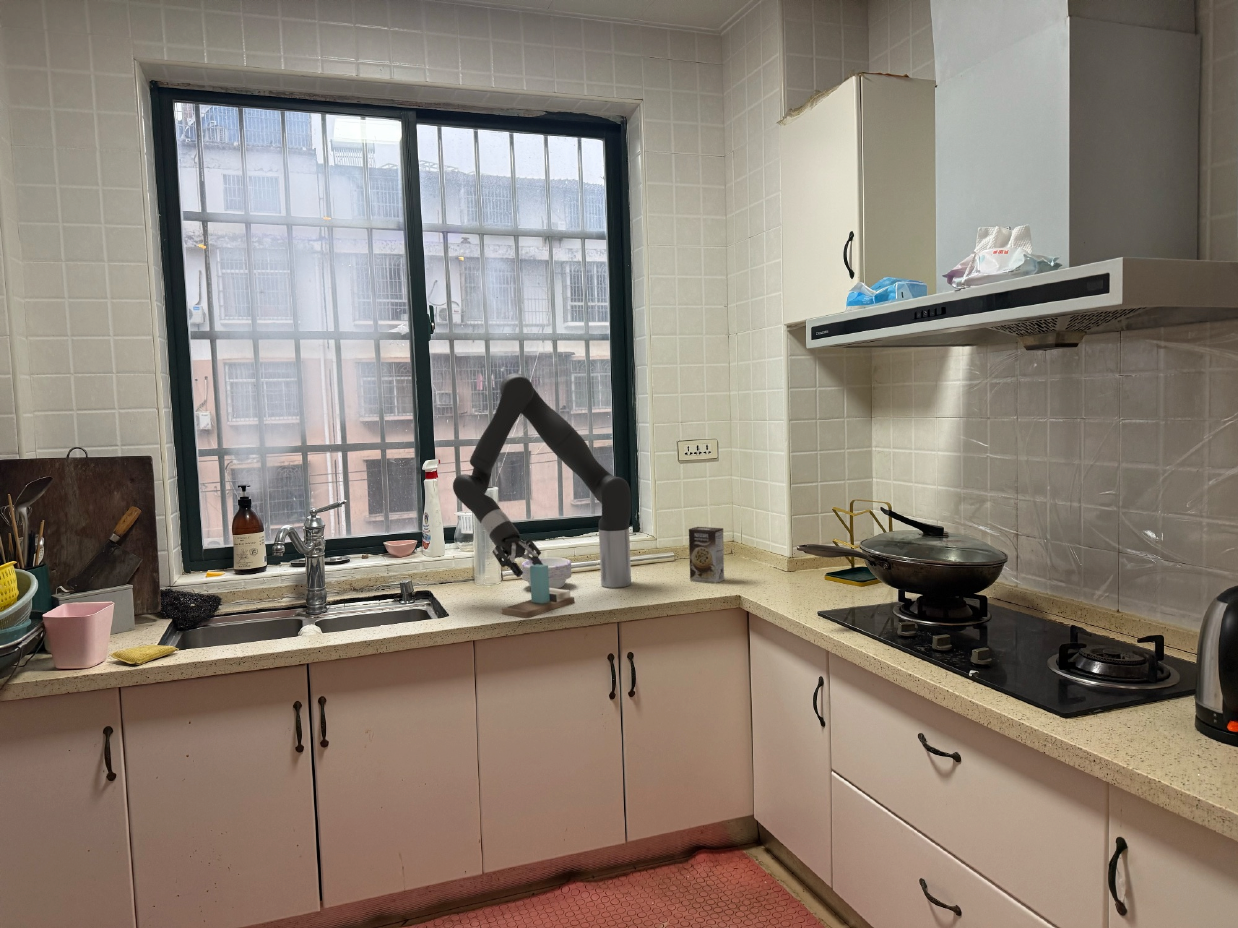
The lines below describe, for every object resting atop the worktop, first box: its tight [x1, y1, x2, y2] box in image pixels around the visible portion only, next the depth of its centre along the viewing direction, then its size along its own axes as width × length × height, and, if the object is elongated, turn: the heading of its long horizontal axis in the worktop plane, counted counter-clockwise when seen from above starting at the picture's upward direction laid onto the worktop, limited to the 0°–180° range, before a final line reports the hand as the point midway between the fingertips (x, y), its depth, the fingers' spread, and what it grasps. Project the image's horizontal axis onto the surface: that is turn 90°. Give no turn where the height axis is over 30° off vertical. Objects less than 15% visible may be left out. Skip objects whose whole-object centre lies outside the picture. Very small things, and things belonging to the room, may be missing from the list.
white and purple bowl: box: [520, 557, 573, 589], centre depth 261 cm, size 15×15×8 cm
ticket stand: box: [501, 588, 575, 619], centre depth 235 cm, size 20×9×4 cm, turn 143°
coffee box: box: [688, 526, 725, 584], centre depth 261 cm, size 9×6×16 cm
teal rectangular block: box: [530, 564, 550, 604], centre depth 235 cm, size 3×4×10 cm
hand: (531, 572), depth 236 cm, fingers open, 8 cm apart
